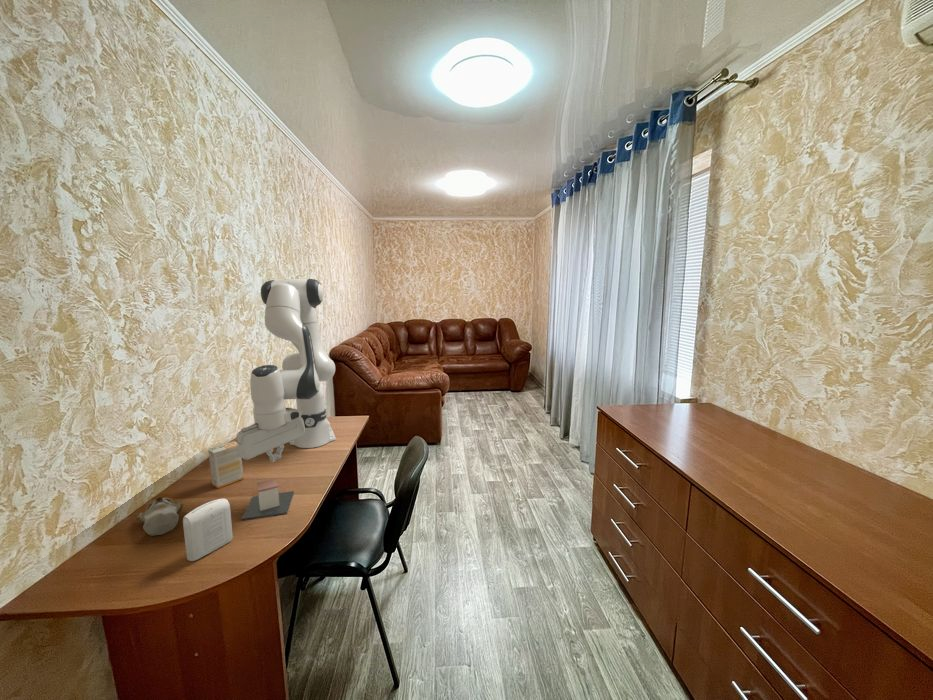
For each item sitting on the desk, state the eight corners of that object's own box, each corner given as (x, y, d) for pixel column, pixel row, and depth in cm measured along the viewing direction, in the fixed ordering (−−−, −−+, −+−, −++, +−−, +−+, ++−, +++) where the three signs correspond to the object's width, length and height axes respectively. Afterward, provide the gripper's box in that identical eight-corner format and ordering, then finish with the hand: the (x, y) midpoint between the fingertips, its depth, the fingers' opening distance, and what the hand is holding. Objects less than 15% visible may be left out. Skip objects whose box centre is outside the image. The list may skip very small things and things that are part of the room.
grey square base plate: (253, 497, 117) (251, 480, 116) (294, 492, 120) (292, 475, 119) (241, 520, 105) (239, 501, 104) (287, 513, 109) (285, 495, 108)
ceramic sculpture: (132, 515, 93) (133, 494, 104) (136, 547, 94) (137, 522, 105) (184, 500, 100) (181, 482, 111) (188, 530, 101) (184, 509, 112)
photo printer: (227, 534, 99) (222, 492, 97) (236, 539, 97) (232, 496, 95) (183, 558, 90) (177, 512, 88) (192, 564, 88) (187, 517, 86)
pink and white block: (259, 502, 113) (257, 482, 112) (277, 497, 116) (276, 478, 115) (260, 510, 109) (258, 490, 108) (279, 505, 112) (278, 485, 111)
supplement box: (237, 475, 131) (234, 440, 129) (244, 479, 128) (240, 444, 126) (211, 484, 124) (207, 448, 122) (217, 489, 121) (213, 452, 119)
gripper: (242, 433, 102) (248, 478, 105) (305, 409, 119) (309, 448, 122) (229, 428, 105) (236, 472, 108) (293, 406, 122) (297, 444, 125)
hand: (275, 459), depth 115 cm, fingers closed
